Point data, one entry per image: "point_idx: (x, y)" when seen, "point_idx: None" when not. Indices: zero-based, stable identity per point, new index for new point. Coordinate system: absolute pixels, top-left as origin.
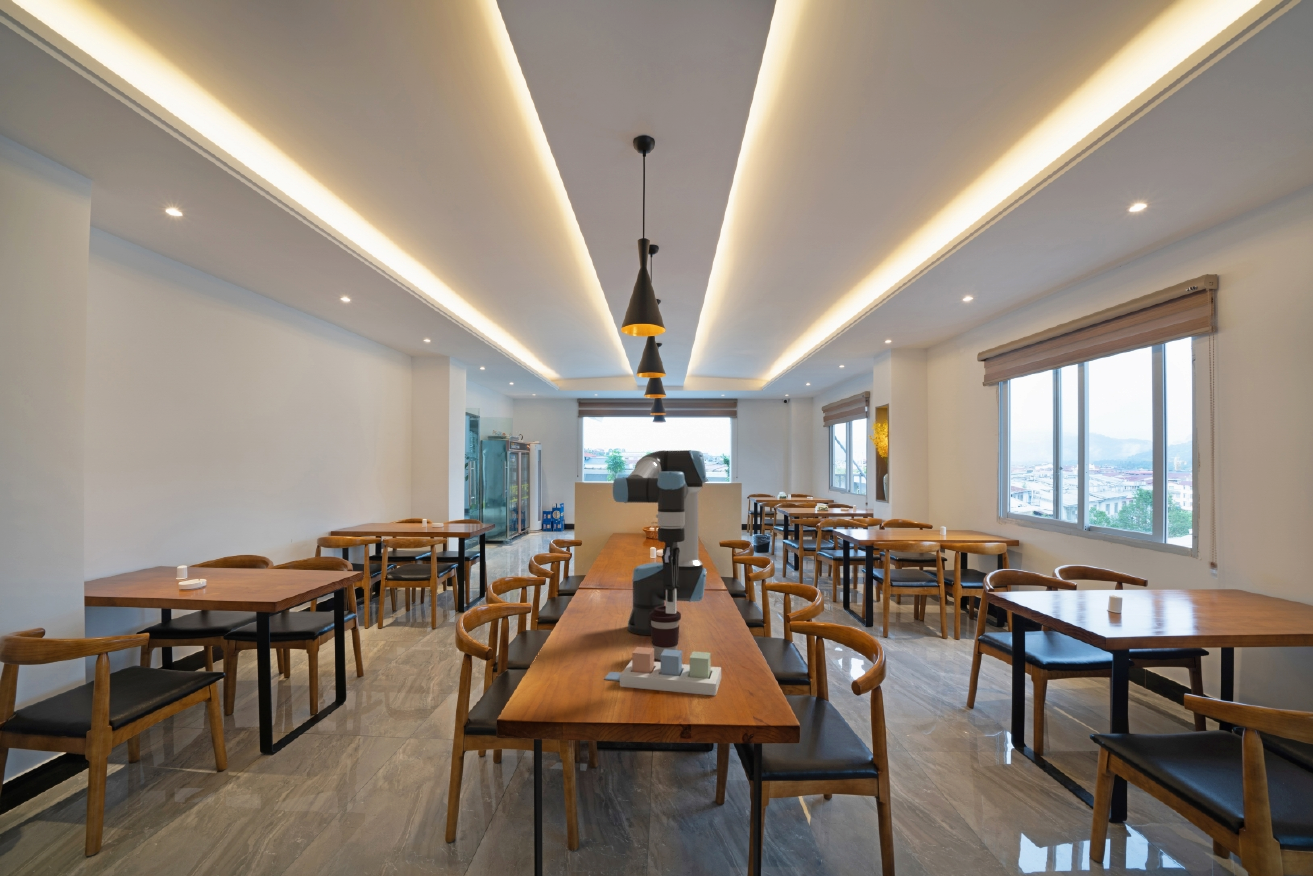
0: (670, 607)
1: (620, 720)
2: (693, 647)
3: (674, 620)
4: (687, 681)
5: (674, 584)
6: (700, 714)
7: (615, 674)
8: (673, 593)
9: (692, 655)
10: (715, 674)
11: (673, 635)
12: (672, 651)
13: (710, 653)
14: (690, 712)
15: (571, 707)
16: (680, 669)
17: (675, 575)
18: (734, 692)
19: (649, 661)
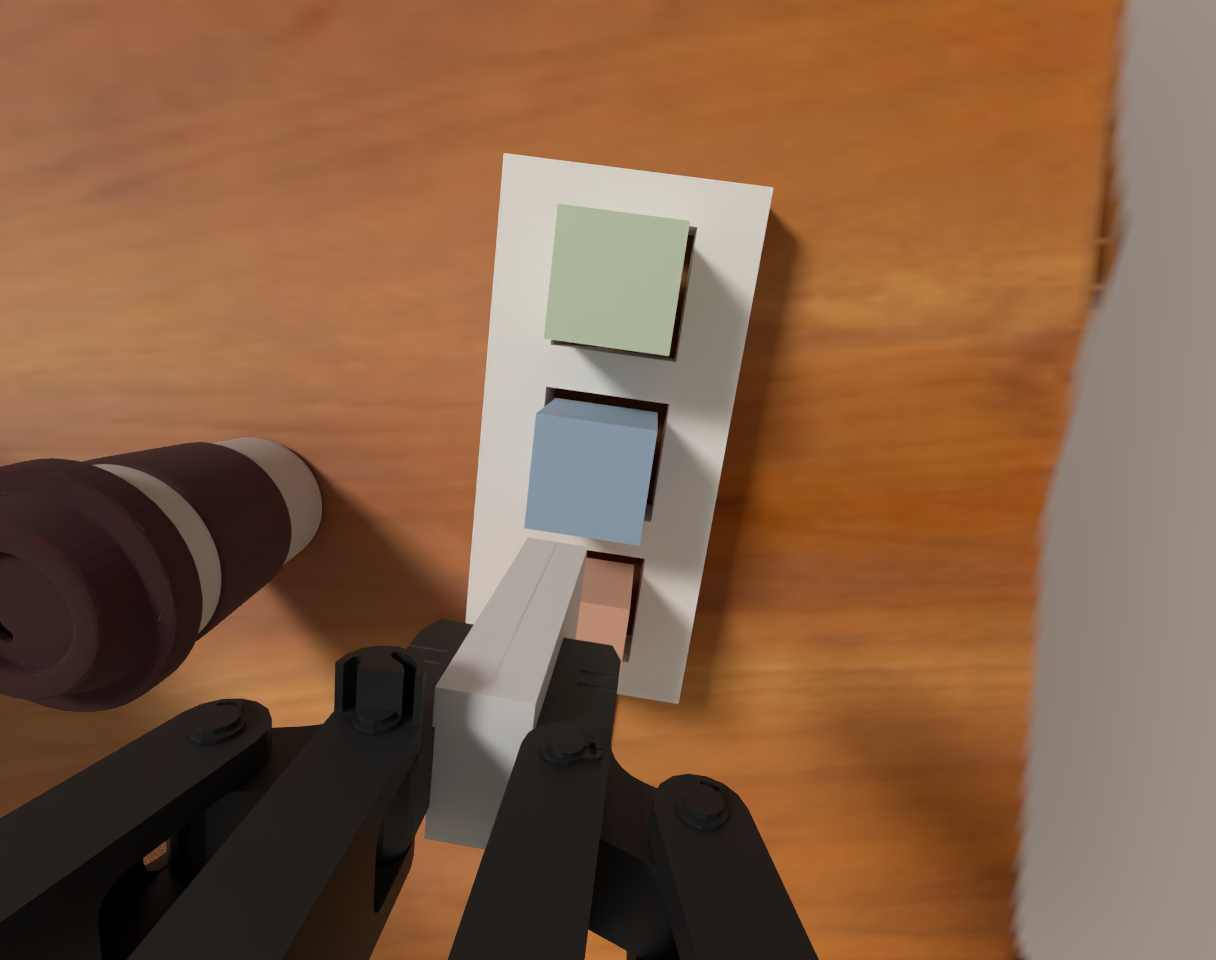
0: (571, 629)
1: (1034, 632)
2: (69, 346)
3: (148, 508)
4: (741, 359)
5: (552, 798)
6: (990, 279)
7: None
8: (543, 695)
9: (626, 336)
10: (625, 190)
11: (221, 484)
12: (561, 475)
13: (561, 204)
14: (965, 331)
15: (901, 826)
16: (601, 406)
17: (302, 940)
18: (710, 87)
19: (630, 593)
